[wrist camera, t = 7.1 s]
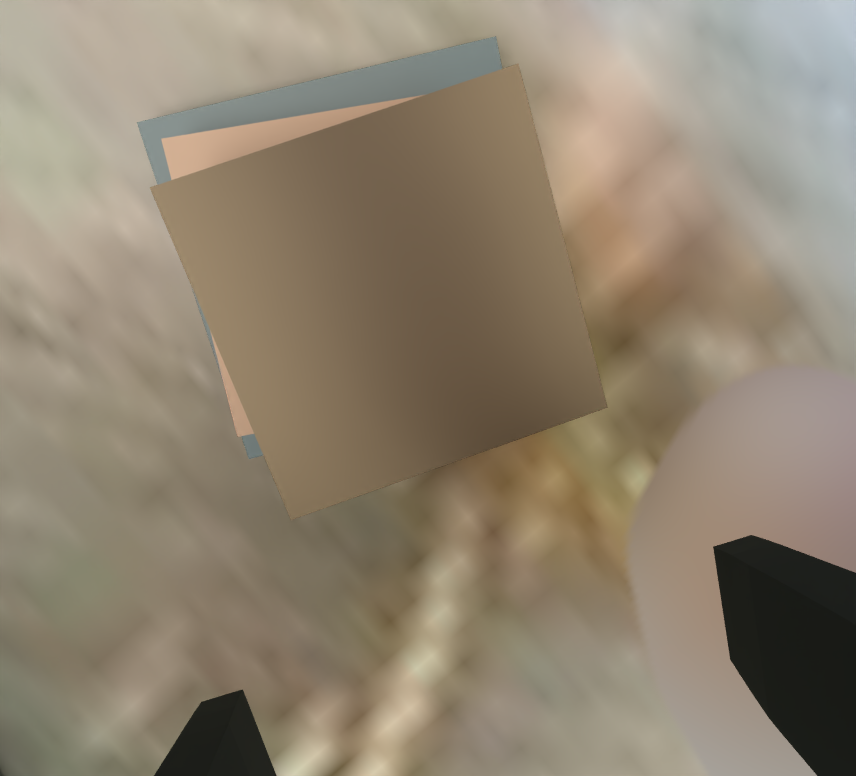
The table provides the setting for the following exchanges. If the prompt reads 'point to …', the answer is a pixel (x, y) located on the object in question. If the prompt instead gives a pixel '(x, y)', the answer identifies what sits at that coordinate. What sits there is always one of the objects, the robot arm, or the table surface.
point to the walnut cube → (389, 290)
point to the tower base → (323, 108)
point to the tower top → (240, 141)
